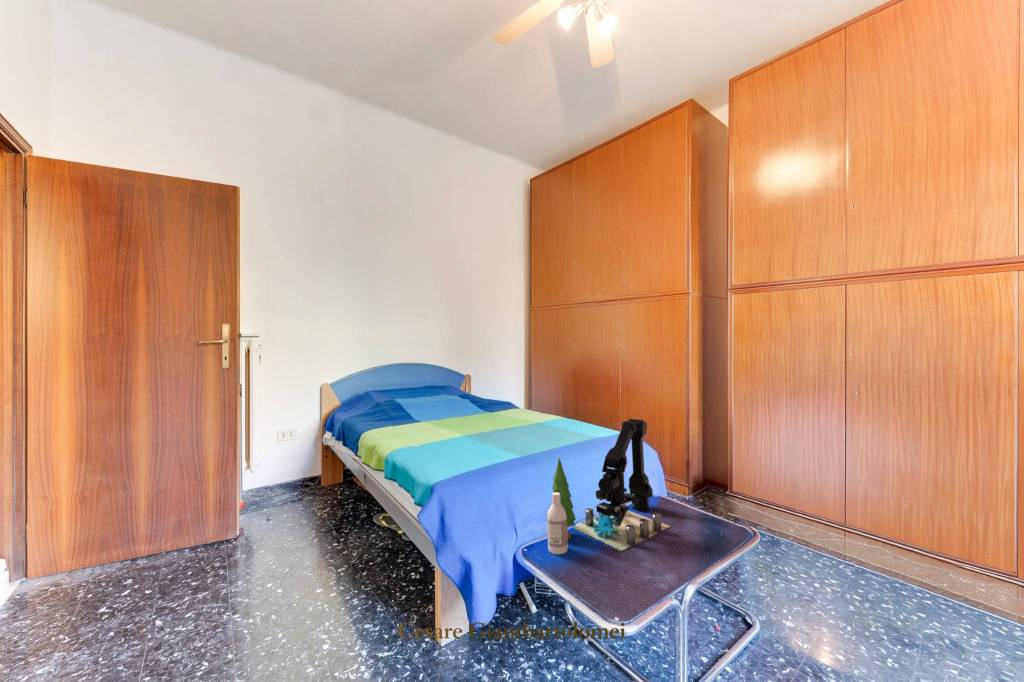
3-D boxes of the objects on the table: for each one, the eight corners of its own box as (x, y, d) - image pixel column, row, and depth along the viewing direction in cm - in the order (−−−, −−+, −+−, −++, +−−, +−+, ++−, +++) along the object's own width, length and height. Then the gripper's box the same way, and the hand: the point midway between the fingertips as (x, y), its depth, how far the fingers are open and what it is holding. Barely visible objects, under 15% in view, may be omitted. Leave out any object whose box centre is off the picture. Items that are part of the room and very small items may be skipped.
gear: (587, 527, 152) (601, 505, 156) (594, 535, 155) (608, 513, 158) (609, 542, 143) (623, 519, 146) (616, 550, 146) (630, 526, 149)
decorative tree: (557, 528, 157) (555, 453, 158) (580, 533, 153) (577, 455, 153) (548, 539, 148) (545, 459, 149) (572, 544, 144) (569, 462, 145)
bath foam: (569, 554, 137) (567, 496, 138) (549, 555, 137) (547, 497, 137) (565, 544, 144) (563, 489, 145) (546, 545, 144) (545, 490, 144)
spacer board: (620, 508, 175) (620, 507, 175) (669, 527, 155) (669, 526, 155) (572, 528, 157) (572, 527, 157) (621, 552, 138) (621, 550, 138)
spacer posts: (615, 512, 170) (614, 498, 171) (663, 530, 152) (662, 515, 152) (584, 524, 159) (583, 509, 159) (632, 546, 140) (631, 529, 141)
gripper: (615, 475, 166) (617, 512, 166) (585, 486, 155) (586, 525, 155) (638, 482, 157) (639, 521, 157) (607, 493, 146) (609, 536, 146)
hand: (618, 525), depth 154 cm, fingers closed
